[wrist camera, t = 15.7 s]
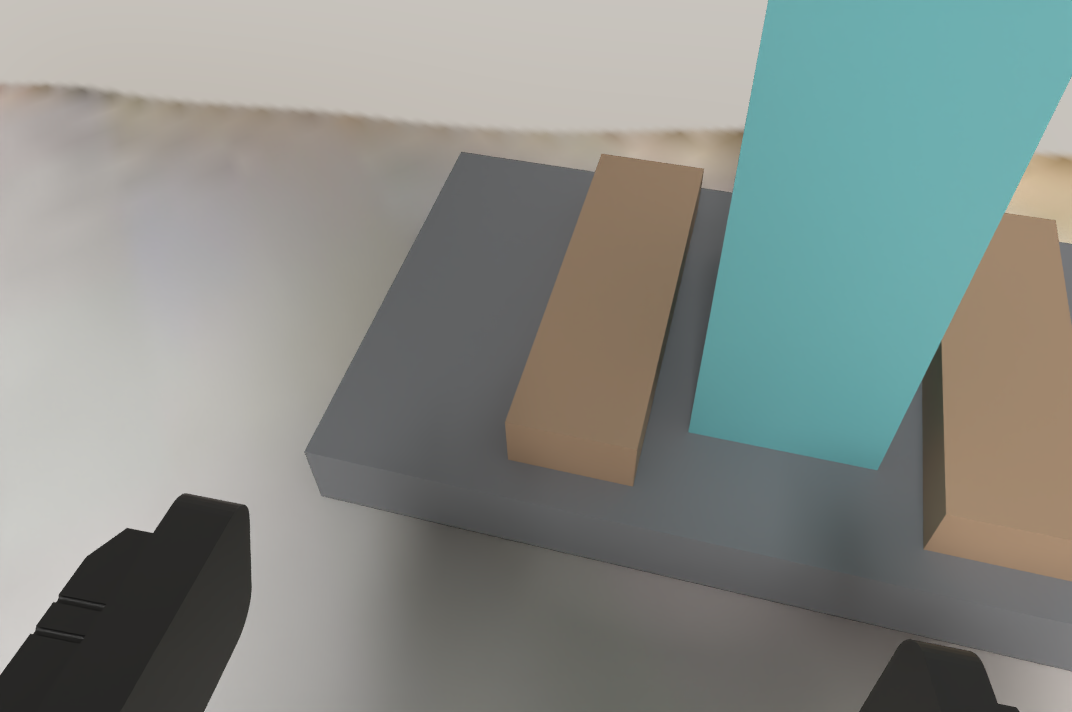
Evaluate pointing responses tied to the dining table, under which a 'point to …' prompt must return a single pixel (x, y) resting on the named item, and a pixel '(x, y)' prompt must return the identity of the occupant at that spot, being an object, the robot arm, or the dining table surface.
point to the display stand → (666, 407)
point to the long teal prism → (867, 208)
